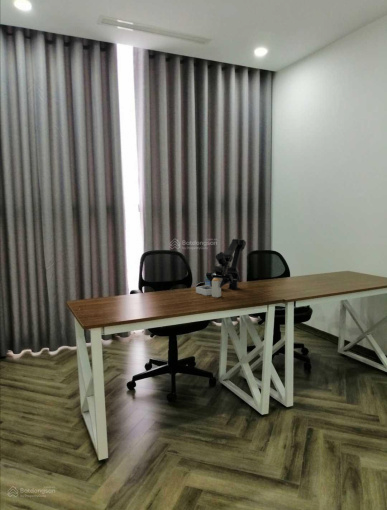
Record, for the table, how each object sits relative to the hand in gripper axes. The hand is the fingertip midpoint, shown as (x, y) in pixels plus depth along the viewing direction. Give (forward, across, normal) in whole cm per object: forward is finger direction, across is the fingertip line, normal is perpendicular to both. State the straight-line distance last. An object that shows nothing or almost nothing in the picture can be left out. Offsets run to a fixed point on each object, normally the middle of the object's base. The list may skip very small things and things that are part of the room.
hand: (215, 287), depth 246 cm
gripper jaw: (+4, 0, +6) cm, 7 cm away
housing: (-1, -10, +10) cm, 14 cm away
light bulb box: (-12, -14, +21) cm, 28 cm away
